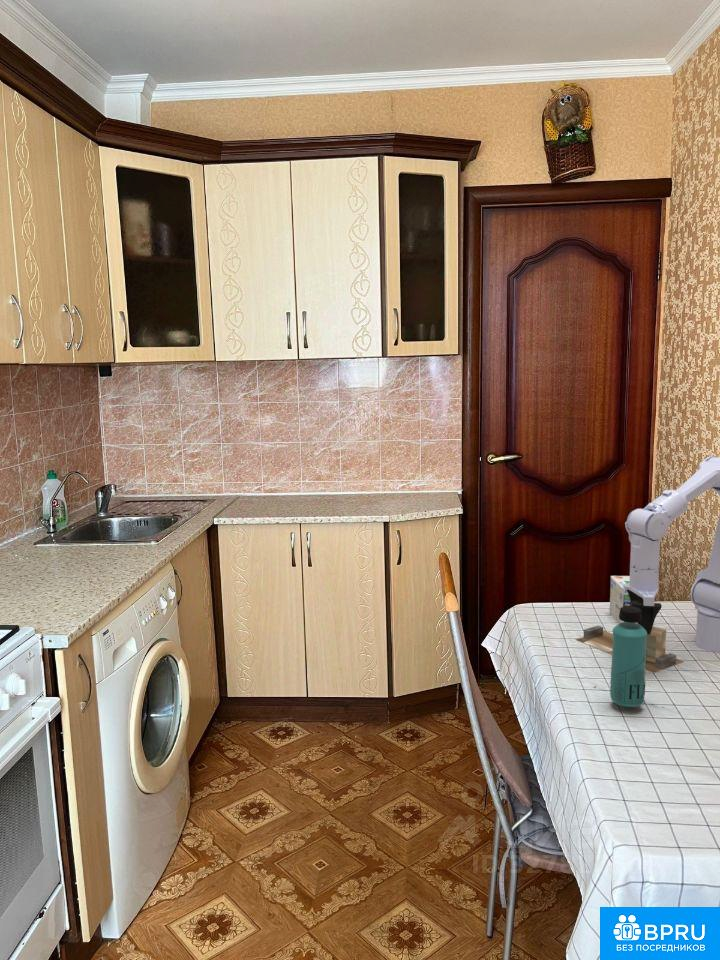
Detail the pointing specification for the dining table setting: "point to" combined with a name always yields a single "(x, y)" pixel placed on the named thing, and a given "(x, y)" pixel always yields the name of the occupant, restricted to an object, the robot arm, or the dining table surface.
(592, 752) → the dining table surface
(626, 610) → the beverage bottle
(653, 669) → the brown board with blocks
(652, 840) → the dining table surface
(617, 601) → the light bulb box
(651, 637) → the tall tan box
